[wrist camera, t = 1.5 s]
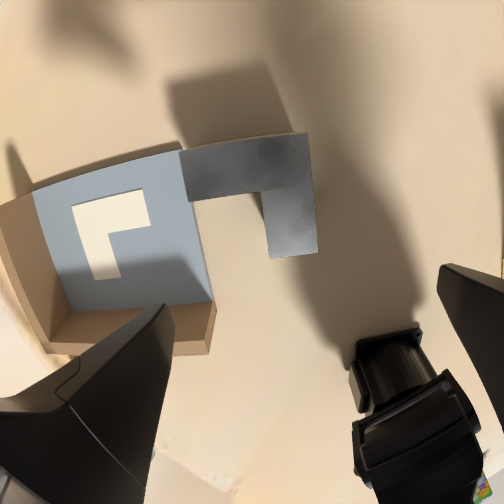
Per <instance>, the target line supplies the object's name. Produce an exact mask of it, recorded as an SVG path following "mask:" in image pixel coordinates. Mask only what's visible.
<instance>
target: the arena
mask: <svg viewBox="0 0 504 504" xmlns="http://www.w3.org/2000/svg"><path fill="white" fill-rule="evenodd" d="M179 151H183V149H179V150H174V151H169V152H165V153H160V154H156V155H152V156H148V157H143V158H139V159H135V160H131V161H128V162H124V163H120V164H116V165H113V166H109V167H106V168H102V169H99V170H95V171H92V172H89V173H85V174H82V175H79V176H76V177H73V178H70V179H67V180H64V181H61V182H58V183H55V184H52V185H49V186H46V187H43V188H41V189H38V190H35V191H33V192H30V193H27V194H25V195H23V196H20V197H18V198H16V199H14V200H11V201H9V202H7V203H5V204H3V205H0V256H1V258H2V261H3V264H4V266H5V269H6V272H7V274H8V277H9V279H10V281H11V284H12V286H13V288H14V291H15V293H16V295H17V297H18V300H19V302H20V304H21V306H22V308H23V310H24V312H25V314H26V316H27V318H28V320H29V322H30V324H31V326H32V328H33V330H34V332H35V334H36V336H37V338H38V339H39V341H40V343H41V345H42V346H43V348H44V350H45V352H46V353H48V354H61V355H78V356H80V355H81V354H82V353H83V352H85V351H86V350H88V349H89V348H91V347H92V346H94V345H95V344H96V343H98V342H99V341H101V340H102V339H104V338H105V337H107V336H108V335H110V334H111V333H113V332H114V331H115V330H117V329H118V328H120V327H121V326H123V325H124V324H126V323H127V322H129V321H130V320H132V319H133V318H135V317H136V316H137V315H139V314H140V313H142V312H143V311H145V310H146V309H148V308H149V307H151V306H152V305H154V304H158V303H166V304H168V306H169V308H170V311H171V314H172V317H173V320H174V323H175V339H174V347H173V355H172V356H193V355H209V350H210V345H211V339H212V334H213V329H214V324H215V318H216V313H217V308H216V304H215V300H214V296H213V292H212V287H211V283H210V279H209V274H208V270H207V266H206V261H205V257H204V252H203V248H202V243H201V239H200V234H199V229H198V225H197V220H196V215H195V210H194V205H193V202H188V199H187V194H186V189H185V184H184V179H183V174H182V169H181V163H180V158H179V153H178V152H179Z"/></svg>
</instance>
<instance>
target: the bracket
mask: <svg viewBox="0 0 504 504" xmlns="http://www.w3.org/2000/svg"><path fill="white" fill-rule="evenodd" d="M178 153H179V158H180V163H181V169H182V174H183V179H184V184H185V189H186V194H187V199H188V202H193V201H199V200H205V199H212V198H218V197H225V196H231V195H238V194H245V193H252V192H261V199H262V207H263V214H264V221H265V228H266V236H267V243H268V251H269V258H270V259H274V258H282V257H289V256H297V255H305V254H313V253H318V242H317V228H316V215H315V203H314V191H313V181H312V171H311V162H310V153H309V144H308V136H307V133H303V132H287V133H278V134H270V135H262V136H254V137H247V138H240V139H234V140H227V141H221V142H216V143H210V144H204V145H199V146H195V147H192V148H189V149H186V150H183V151H179V152H178Z"/></svg>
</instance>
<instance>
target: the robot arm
mask: <svg viewBox="0 0 504 504" xmlns="http://www.w3.org/2000/svg"><path fill="white" fill-rule="evenodd" d="M437 293H438V295H439V297H440V300H441V302H442V304H443V306H444V308H445V310H446V312H447V314H448V317H449V319H450V321H451V323H452V325H453V327H454V329H455V331H456V333H457V335H458V337H459V338H460V340H461V342H462V344H463V346H464V347H465V349H466V351H467V353H468V355H469V357H470V359H471V361H472V363H473V365H474V367H475V369H476V371H477V373H478V375H479V377H480V379H481V381H482V383H483V385H484V387H485V389H486V392H487V394H488V396H489V398H490V400H491V403H492V405H493V407H494V410H495V412H496V415H497V417H498V419H499V422H500V424H501V426H502V430H503V433H504V279H502V278H499V277H495V276H492V275H489V274H486V273H483V272H479V271H476V270H473V269H469V268H466V267H463V266H459V265H456V264H452V263H448V264H443V265H441V266H440V269H439V275H438V282H437ZM422 334H423V332H422V330H421V329H420V328H414V329H410V330H406V331H401V332H397V333H392V334H388V335H383V336H378V337H373V338H368V339H363V340H359V341H358V342H356V344H355V352H354V361H352V362H351V364H350V373H349V384H350V387H351V391H352V394H353V397H354V401H355V404H356V407H357V411H358V412H359V413H360V414H362V413H365V416H366V417H365V418H363V419H361V420H357V421H354V422H352V429H353V431H352V441H353V455H354V473H355V475H356V476H359V477H361V479H362V481H363V482H364V484H365V485H366V486H367V487H368V488H370V489H371V488H373V489H374V492H375V494H376V497H377V499H378V503H379V504H474V501H473V497H474V494H475V490H476V487H477V483H478V479H479V478H480V477H481V475H482V469H483V453H482V451H481V448H480V446H479V443H478V441H477V438H476V436H475V434H476V433H478V432H479V431H480V430H481V425H480V422H479V419H478V416H477V414H476V412H475V410H474V407H473V405H472V404H471V402H470V400H469V398H468V397H467V395H466V394H465V392H464V391H463V389H462V388H461V387H460V385H459V384H458V382H457V381H456V380H455V378H454V377H453V376H452V374H451V373H450V371H449V370H448V369H445V370H444V371H442V373H441V374H440V375H437V373H436V372H435V370H434V368H433V367H432V365H431V363H430V362H429V360H428V358H427V357H426V355H425V353H424V352H423V350H422V348H421V347H420V343H421V339H422ZM174 339H175V323H174V320H173V317H172V314H171V311H170V308H169V306H168V304H166V303H158V304H154V305H152V306H151V307H149V308H148V309H146V310H145V311H143V312H142V313H140V314H139V315H137V316H136V317H135V318H133V319H132V320H130V321H129V322H127V323H126V324H124V325H123V326H121V327H120V328H118V329H117V330H115V331H114V332H113V333H111V334H110V335H108V336H107V337H105V338H104V339H102V340H101V341H99V342H98V343H96V344H95V345H94V346H92V347H91V348H89V349H88V350H86V351H85V352H83V353H82V354H81V355H80V356H77V357H76V358H75V359H73V360H72V361H70V362H69V363H67V364H66V365H64V366H63V367H61V368H60V369H58V370H57V371H55V372H53V373H52V374H50V375H48V376H47V377H45V378H44V379H42V380H40V381H38V382H37V383H35V384H34V385H32V386H30V387H28V388H27V389H25V390H23V391H22V392H20V393H18V394H16V395H14V396H11V397H6V398H0V504H143V503H144V496H145V490H146V489H145V488H146V484H147V479H148V473H149V468H150V463H151V458H152V453H153V448H154V443H155V438H156V433H157V428H158V424H159V419H160V414H161V410H162V405H163V401H164V397H165V392H166V388H167V384H168V379H169V375H170V370H171V364H172V355H173V347H174ZM361 345H362V346H361Z"/></svg>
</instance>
